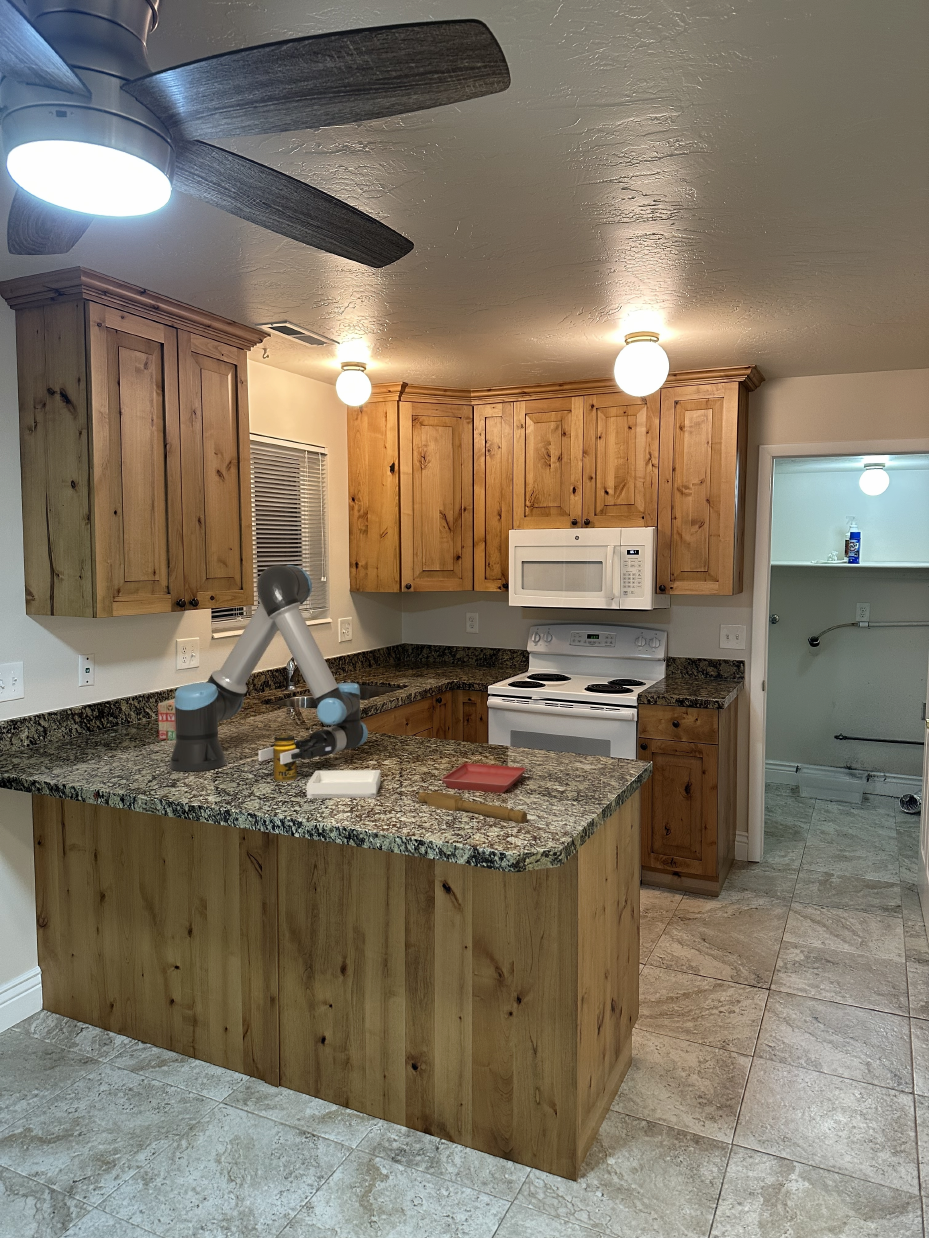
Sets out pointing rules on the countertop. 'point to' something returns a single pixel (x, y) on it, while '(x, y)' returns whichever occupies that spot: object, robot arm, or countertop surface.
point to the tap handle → (471, 806)
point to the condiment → (286, 770)
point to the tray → (344, 784)
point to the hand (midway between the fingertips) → (270, 757)
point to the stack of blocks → (167, 720)
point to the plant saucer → (483, 777)
